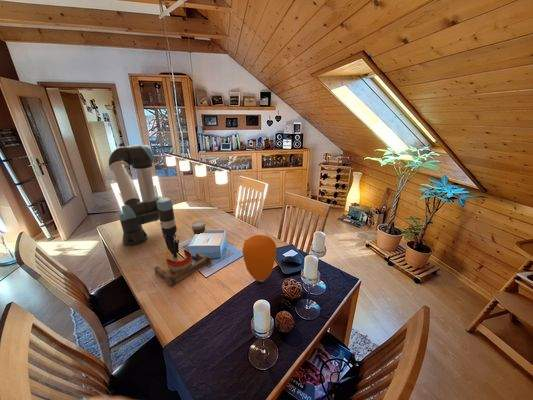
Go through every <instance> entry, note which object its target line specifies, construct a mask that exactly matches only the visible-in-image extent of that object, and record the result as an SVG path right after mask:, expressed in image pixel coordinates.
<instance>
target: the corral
mask: <svg viewBox="0 0 533 400" xmlns="http://www.w3.org/2000/svg"><path fill="white" fill-rule="evenodd" d="M195 259H196V260H198V261H196V262H195V263H192V264H191V266H190V267H188V268H186V269H185V270H183V271H181V272H180V273H178V274H175V275H173V276H172V275H171V274H169V273H168V272H167V271H165V270H164V269H163V268H162V267H160V266H159V265H156V266H155V267H153V270H154V274H156V275H157V276H158V277H159V278H161V279H162V280H163V281H164V282H166V283H167V285H168V286H167V287H169V288H173V287H174V286H176V285H177V284H180V282H182V281H184V280H186V279H187V278H188V277H190V276H192V275H193V274H194V273H197V272H198V271H200V270H201V269H203V268H204V267H206V266H207V265H208V264H210V263H212V261H211V260H212V259H211V256H209V255H205V254H204V253H202V254H198V253H196V258H195ZM199 269H200V270H199Z"/></svg>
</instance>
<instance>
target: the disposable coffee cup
mask: <svg viewBox="0 0 533 400" xmlns="http://www.w3.org/2000/svg"><path fill="white" fill-rule="evenodd" d="M190 227H191V229H192V232H193V235H195V234H200V233H203V232H204V231H205V232H206V222H205V221H203V220H197V221H194V222H193V223H191V225H190Z"/></svg>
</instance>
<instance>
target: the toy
mask: <svg viewBox="0 0 533 400" xmlns="http://www.w3.org/2000/svg"><path fill="white" fill-rule="evenodd" d="M183 253H184V255H185V256H184V259H183V260H180V261H179V260H178V261H177V262H175V261H172V259H170V258H166V260H165V261H166V264H167V268H168V269H169V272H170V273H172V274H175V275H176V274H178V273H180V272H181V271H183V270H185V269H186V268H188V267H190V266H191V265H193V256H191V254H190V253H189V250H187V249H183Z"/></svg>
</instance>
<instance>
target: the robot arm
mask: <svg viewBox="0 0 533 400" xmlns="http://www.w3.org/2000/svg"><path fill="white" fill-rule="evenodd" d="M155 161H156V160H155V156H154V154H153V150H152V149H151V147H150V146H149V145H147V144H137V145H128V146H119V147H116V148H115V149H114V150H113V151H112V152H111V154H109V158H108V166H109V169H110V171H111V172H112V173H113V175H114V178H115V181H116V184H117V187H118V190H119V192H120V194H121V197H122V200H123V203H124V205H122V206H121V209H122V210H120V212H119V213H118V218H119V222H120V225H121V229H122V240H121V241H122V243H123V245H124V246H127V247H128V246H137V245H140V244H142V243H143V242H145V241H146V240H147V239H148V234H147V232H146V231H145V229H144V228H143V225H145V224H149V223H153V222H157V221H159V222H160V223H159V225H160V227H161V233H162V236H163V238H164V241H165V244H166V248H167V250H168V251H169V252H170V255H171V260H172V261H175V262H179V258H178V253H179V252H180V249H179V248H180V247H179V246H180V245H179V243H180V239H179V238H177V235H176V232H177V231H178V229H177V225H176V224H177V223H176V218H175V211H174V207H173V204H174V203H173V202H172V199H171V198H168V197H162V196H160V195H156V192H155V185H154V180H153V176H152V170H151V168H152V167H153V164H154V163H156V162H155ZM130 166H131V168H132V169H133V170H135V172H136V177H137V183H138V186H139V191H140V196H139V193H138V192H137V189H136V185H135V183H134V181H133V178H132V176H131V173H130V170H129V167H130ZM140 197H141V199H140Z"/></svg>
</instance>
